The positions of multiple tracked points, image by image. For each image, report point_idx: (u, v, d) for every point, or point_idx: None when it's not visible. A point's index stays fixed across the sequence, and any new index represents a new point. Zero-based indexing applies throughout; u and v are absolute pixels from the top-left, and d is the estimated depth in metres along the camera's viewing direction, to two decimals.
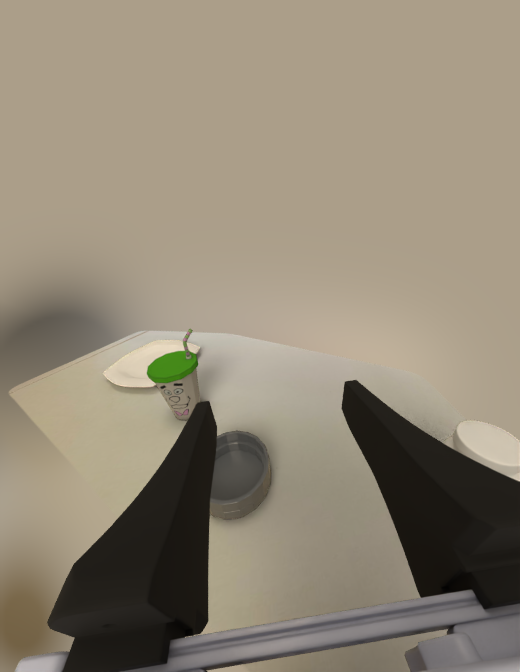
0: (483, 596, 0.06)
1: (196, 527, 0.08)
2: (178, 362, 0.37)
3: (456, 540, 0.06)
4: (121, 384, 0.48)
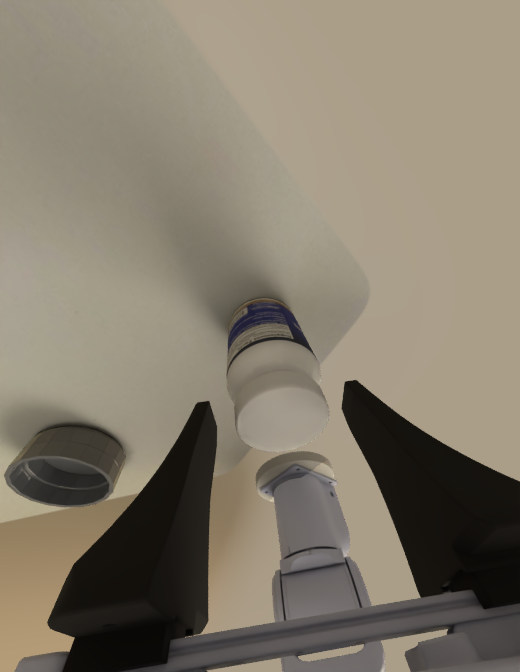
0: (483, 596, 0.06)
1: (196, 527, 0.08)
2: None
3: (456, 540, 0.06)
4: None
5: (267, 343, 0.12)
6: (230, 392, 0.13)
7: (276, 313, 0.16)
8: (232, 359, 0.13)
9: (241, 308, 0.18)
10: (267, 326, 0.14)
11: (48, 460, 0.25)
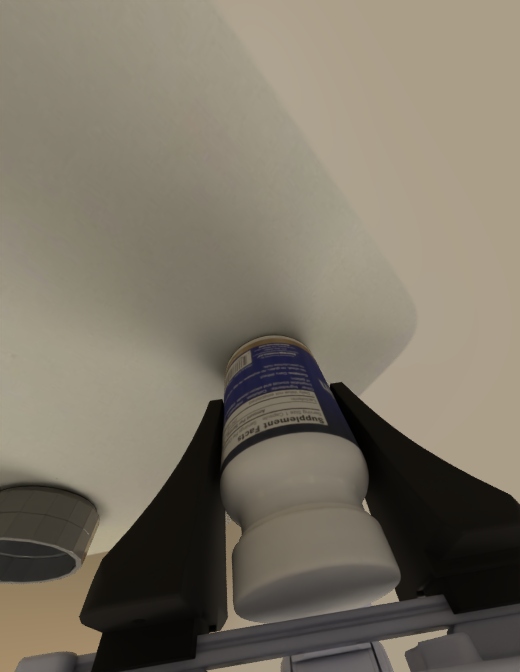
0: (483, 596, 0.06)
1: (215, 524, 0.08)
2: None
3: (428, 545, 0.06)
4: None
5: (287, 440, 0.07)
6: (225, 508, 0.08)
7: (293, 365, 0.11)
8: (229, 455, 0.08)
9: (242, 351, 0.13)
10: (284, 396, 0.09)
11: None
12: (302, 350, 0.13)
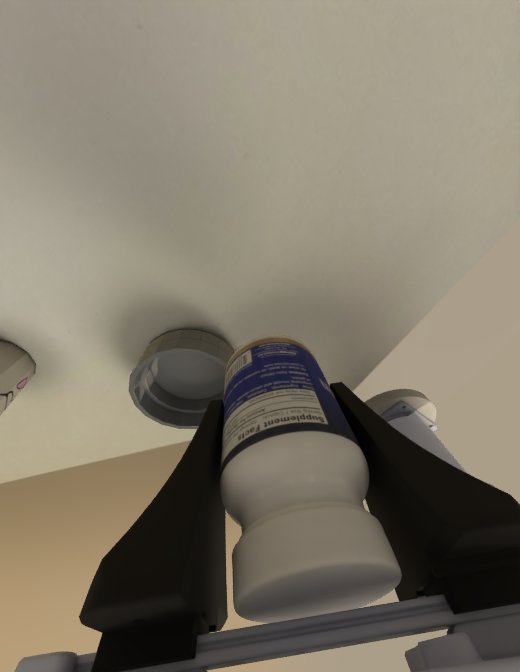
0: (483, 596, 0.06)
1: (215, 524, 0.08)
2: None
3: (428, 545, 0.06)
4: None
5: (287, 438, 0.07)
6: (225, 507, 0.08)
7: (293, 364, 0.11)
8: (229, 454, 0.08)
9: (242, 350, 0.13)
10: (284, 395, 0.09)
11: (157, 377, 0.22)
12: (302, 349, 0.13)
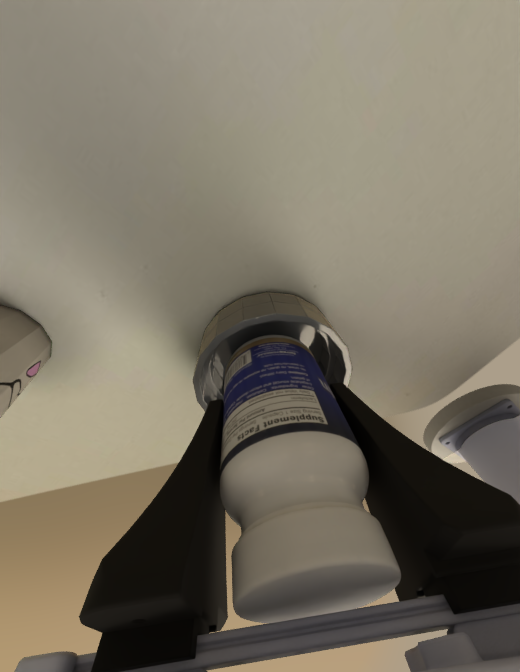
0: (483, 596, 0.06)
1: (215, 524, 0.08)
2: None
3: (428, 545, 0.06)
4: None
5: (287, 438, 0.07)
6: (225, 508, 0.08)
7: (293, 364, 0.11)
8: (228, 455, 0.08)
9: (242, 350, 0.13)
10: (284, 395, 0.09)
11: (219, 363, 0.16)
12: (302, 349, 0.13)
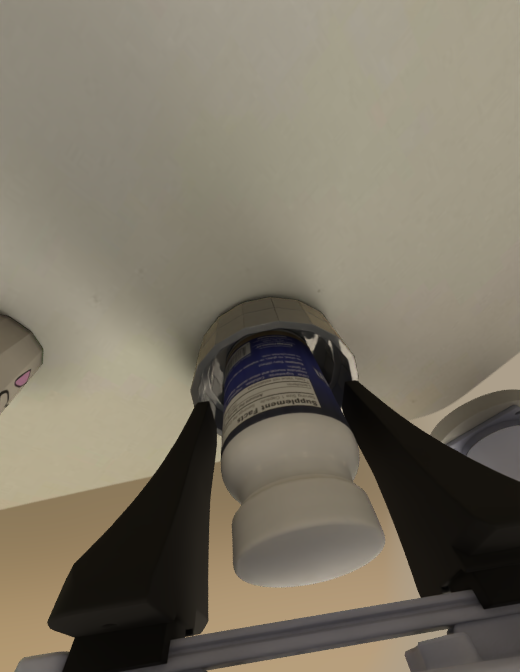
0: (483, 596, 0.06)
1: (196, 527, 0.08)
2: None
3: (456, 540, 0.06)
4: None
5: (283, 419, 0.08)
6: (226, 485, 0.09)
7: (290, 355, 0.11)
8: (229, 436, 0.09)
9: (242, 343, 0.13)
10: (280, 382, 0.10)
11: (219, 371, 0.15)
12: (299, 342, 0.13)
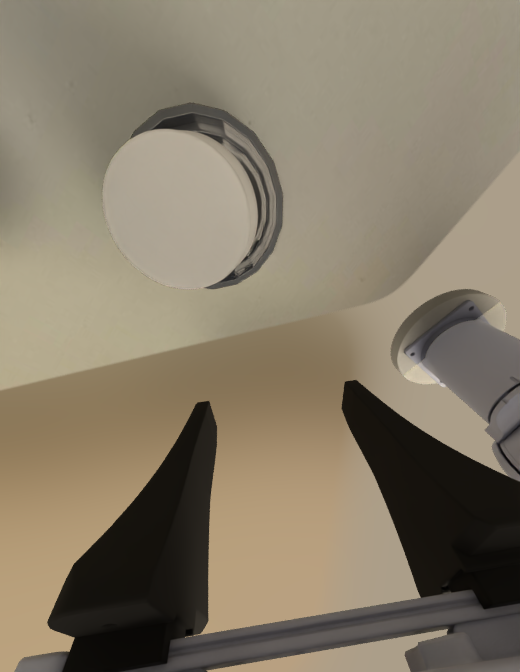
0: (483, 596, 0.06)
1: (196, 527, 0.08)
2: None
3: (456, 540, 0.06)
4: None
5: None
6: None
7: None
8: None
9: None
10: None
11: None
12: None
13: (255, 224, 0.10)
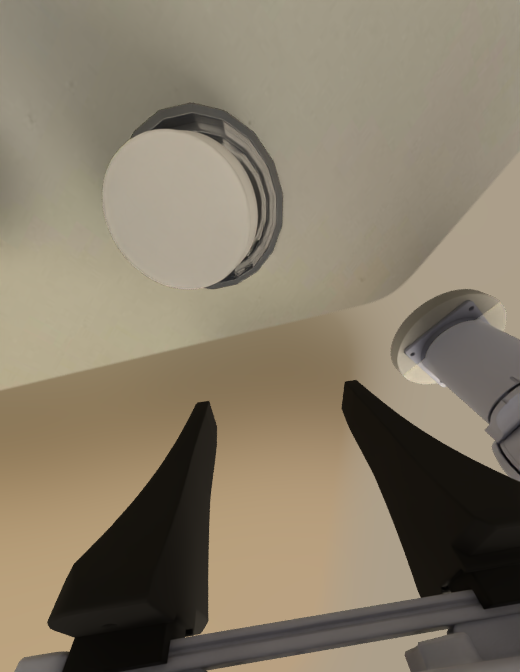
0: (483, 596, 0.06)
1: (196, 527, 0.08)
2: None
3: (456, 540, 0.06)
4: None
5: None
6: None
7: None
8: None
9: None
10: None
11: None
12: None
13: (255, 224, 0.10)
